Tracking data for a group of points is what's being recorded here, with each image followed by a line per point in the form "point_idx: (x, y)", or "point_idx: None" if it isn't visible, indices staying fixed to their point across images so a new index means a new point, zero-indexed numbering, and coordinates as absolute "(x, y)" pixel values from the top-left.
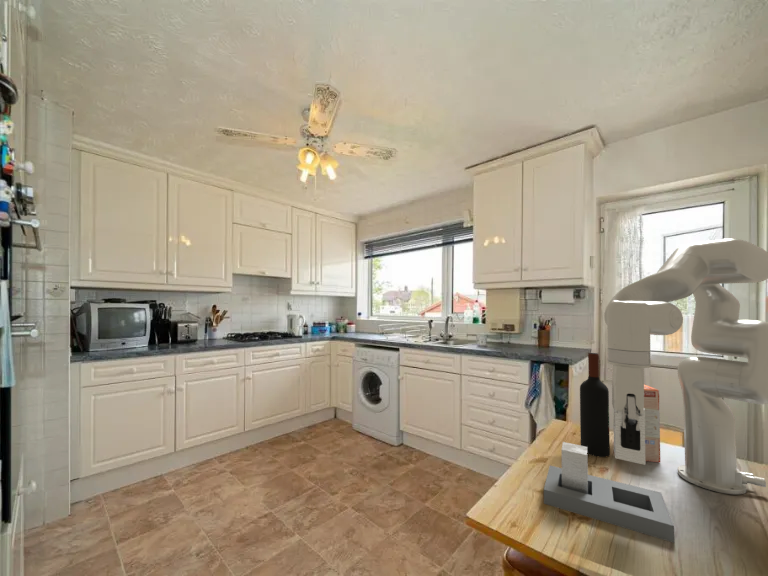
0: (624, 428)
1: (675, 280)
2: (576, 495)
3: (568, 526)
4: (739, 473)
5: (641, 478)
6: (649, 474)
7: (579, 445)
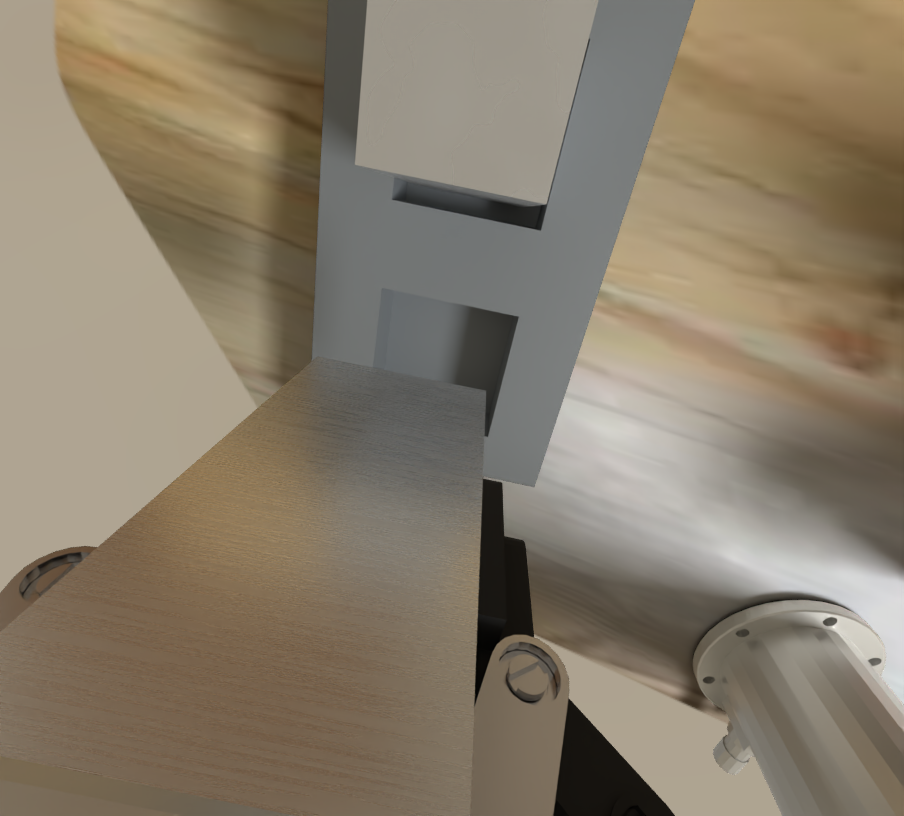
0: (61, 562)
1: None
2: (356, 113)
3: (276, 76)
4: (744, 746)
5: (773, 474)
6: (815, 514)
7: (561, 131)
